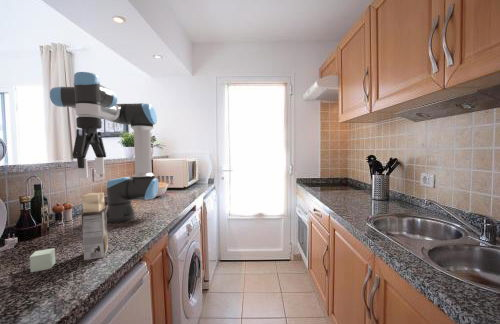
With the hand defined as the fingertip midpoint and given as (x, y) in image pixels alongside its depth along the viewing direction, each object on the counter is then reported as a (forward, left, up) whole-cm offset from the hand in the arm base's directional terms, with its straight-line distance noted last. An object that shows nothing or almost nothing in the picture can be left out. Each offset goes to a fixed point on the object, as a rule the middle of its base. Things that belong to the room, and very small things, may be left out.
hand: (92, 176), depth 87 cm
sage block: (+8, -13, -29) cm, 32 cm away
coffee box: (+1, 0, -29) cm, 29 cm away
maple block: (+1, 0, -13) cm, 13 cm away
